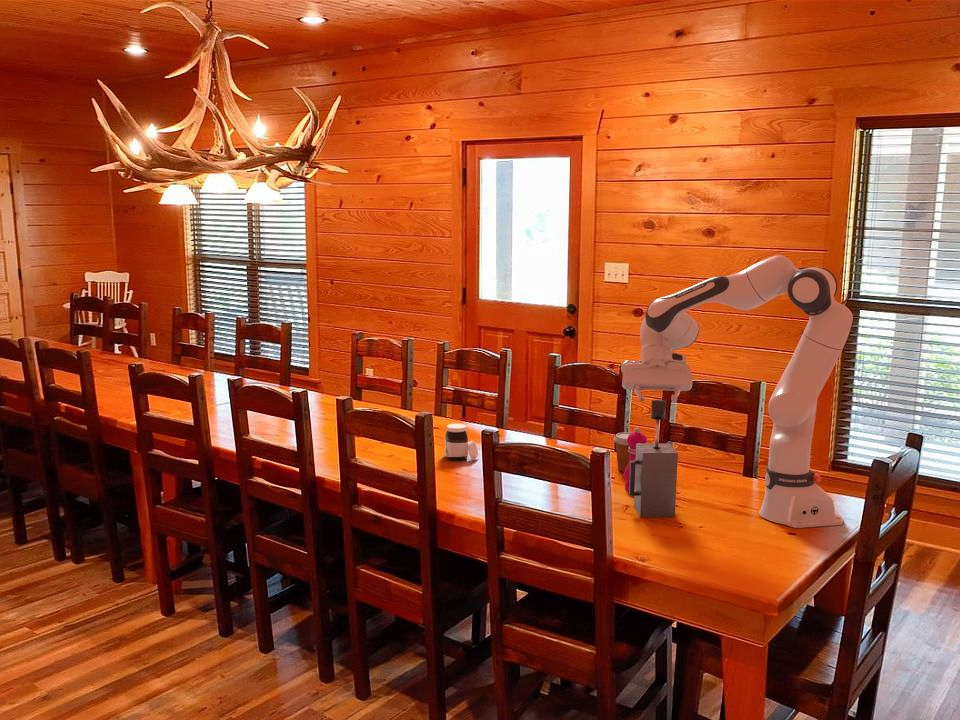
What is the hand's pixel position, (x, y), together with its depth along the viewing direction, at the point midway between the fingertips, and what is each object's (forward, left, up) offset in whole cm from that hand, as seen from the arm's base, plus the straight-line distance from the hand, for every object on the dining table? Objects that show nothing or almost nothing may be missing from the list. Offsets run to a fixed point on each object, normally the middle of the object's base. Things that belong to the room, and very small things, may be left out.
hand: (657, 400), depth 253 cm
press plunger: (0, +3, -16) cm, 17 cm away
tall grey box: (+2, +3, -32) cm, 33 cm away
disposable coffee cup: (+1, -37, -33) cm, 49 cm away
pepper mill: (+2, -17, -33) cm, 37 cm away
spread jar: (+57, -50, -33) cm, 83 cm away
